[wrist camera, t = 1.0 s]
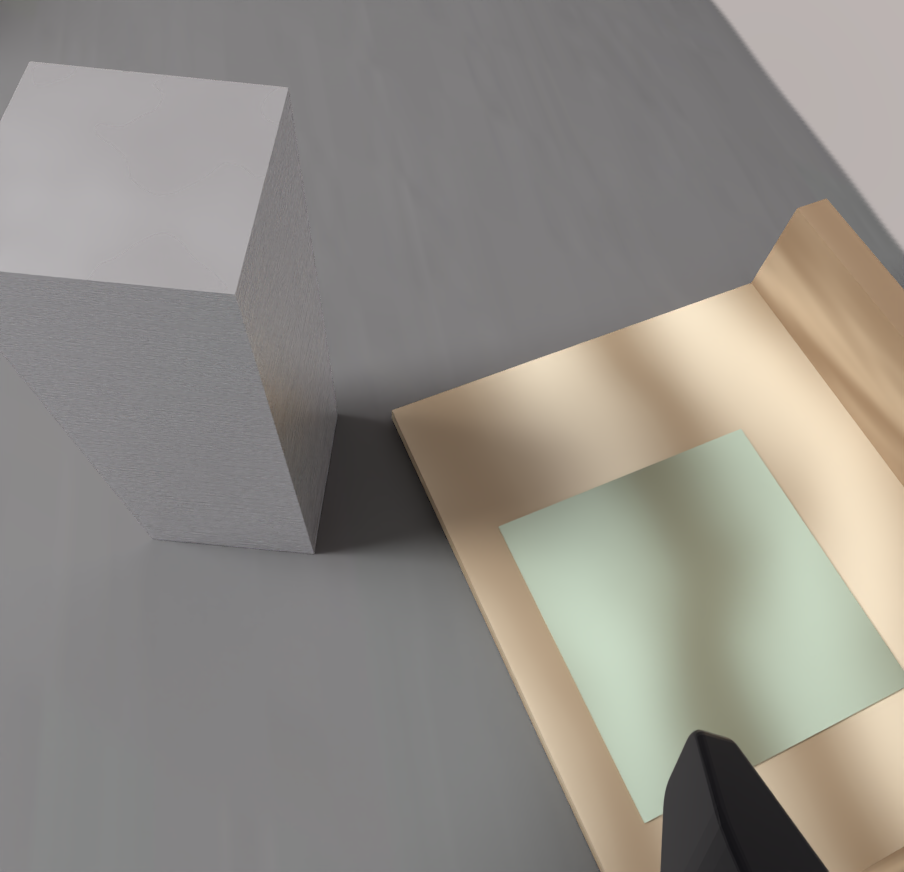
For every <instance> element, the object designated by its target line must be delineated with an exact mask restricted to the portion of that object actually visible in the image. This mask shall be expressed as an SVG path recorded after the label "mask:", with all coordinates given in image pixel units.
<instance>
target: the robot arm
mask: <svg viewBox="0 0 904 872" xmlns="http://www.w3.org/2000/svg"><path fill="white" fill-rule="evenodd" d="M660 872H829V870H828V869H827V868H826V866H825V865H824V863H823V862H822V861H821V859H820V858H819V857H818V855H817V854H816V852H815V851H814V850H813V848H812V847H811V845H810V844H809V843H808V841H807V840H806V839H805V837H804V836H803V834H802V833H801V832H800V830H799V829H798V828H797V826H796V825H795V823H794V822H793V821H792V819H791V818H790V816H789V815H788V814H787V812H786V811H785V810H784V808H783V807H782V805H781V804H780V803H779V801H778V800H777V799H776V797H775V796H774V794H773V793H772V792H771V790H770V789H769V787H768V786H767V785H766V783H765V782H764V781H763V779H762V778H761V776H760V775H759V774H758V772H757V771H756V770H755V768H754V767H753V765H752V764H751V763H750V761H749V760H748V758H747V757H746V756H745V754H744V753H743V752H742V750H741V749H740V747H739V746H738V745H737V744H736V743H735V742H734V741H733V740H732V739H730V738H728V737H725V736H722V735H718V734H715V733H711V732H708V731H704V730H700V729H698V730H695V731H693V732H692V733H691V734H690V735H689V736H688V738H687V740H686V743H685V745H684V747H683V749H682V751H681V754H680V756H679V758H678V760H677V762H676V765H675V767H674V769H673V771H672V773H671V776H670V778H669V780H668V783H667V786H666V790H665V795H664V803H663V823H662V845H661V868H660Z"/></svg>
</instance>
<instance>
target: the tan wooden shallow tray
mask: <svg viewBox="0 0 904 872" xmlns="http://www.w3.org/2000/svg"><path fill="white" fill-rule="evenodd" d="M392 420H393V422H394V424H395V426H396V428H397V431H398V433H399V435H400V437H401V439H402V441H403V444H404V446H405V448H406V450H407V452H408V454H409V457H410V459H411V461H412V463H413V465H414V468H415V470H416V472H417V474H418V476H419V478H420V481H421V483H422V485H423V487H424V489H425V491H426V494H427V496H428V498H429V500H430V502H431V504H432V507H433V509H434V511H435V513H436V515H437V517H438V520H439V522H440V524H441V526H442V528H443V531H444V533H445V535H446V537H447V539H448V541H449V544H450V546H451V548H452V550H453V552H454V554H455V557H456V559H457V561H458V563H459V565H460V567H461V570H462V572H463V574H464V576H465V578H466V580H467V583H468V585H469V587H470V589H471V591H472V594H473V596H474V598H475V600H476V602H477V604H478V607H479V609H480V611H481V613H482V615H483V617H484V620H485V622H486V624H487V626H488V628H489V630H490V633H491V635H492V637H493V639H494V641H495V643H496V646H497V648H498V650H499V652H500V654H501V657H502V659H503V661H504V663H505V665H506V667H507V670H508V672H509V674H510V676H511V678H512V680H513V683H514V685H515V687H516V689H517V691H518V693H519V696H520V698H521V700H522V702H523V704H524V706H525V709H526V711H527V713H528V715H529V717H530V720H531V722H532V724H533V726H534V728H535V730H536V733H537V735H538V737H539V739H540V741H541V743H542V746H543V748H544V750H545V752H546V754H547V756H548V759H549V761H550V763H551V765H552V767H553V770H554V772H555V774H556V776H557V778H558V780H559V783H560V785H561V787H562V789H563V791H564V793H565V796H566V798H567V800H568V802H569V804H570V806H571V809H572V811H573V813H574V815H575V817H576V819H577V822H578V824H579V826H580V828H581V830H582V833H583V835H584V837H585V839H586V841H587V843H588V846H589V848H590V850H591V852H592V854H593V856H594V859H595V861H596V863H597V865H598V867H599V869H600V872H660V868H661V845H662V823H663V803H664V795H665V790H666V786H667V783H668V780H669V778H670V776H671V773H672V771H673V769H674V767H675V765H676V762H677V760H678V758H679V756H680V754H681V751H682V749H683V747H684V745H685V743H686V740H687V738H688V736H689V735H690V734H691V733H692V732H693V731H695V730H698V729H700V730H704V731H708V732H711V733H715V734H718V735H722V736H725V737H728V738H730V739H732V740H733V741H734V742H735V743H736V744H737V745H738V746H739V747H740V749H741V750H742V752H743V753H744V754H745V756H746V757H747V758H748V760H749V761H750V763H751V764H752V765H753V767H754V768H755V770H756V771H757V772H758V774H759V775H760V776H761V778H762V779H763V781H764V782H765V783H766V785H767V786H768V787H769V789H770V790H771V792H772V793H773V794H774V796H775V797H776V799H777V800H778V801H779V803H780V804H781V805H782V807H783V808H784V810H785V811H786V812H787V814H788V815H789V816H790V818H791V819H792V821H793V822H794V823H795V825H796V826H797V828H798V829H799V830H800V832H801V833H802V834H803V836H804V837H805V839H806V840H807V841H808V843H809V844H810V845H811V847H812V848H813V850H814V851H815V852H816V854H817V855H818V857H819V858H820V859H821V861H822V862H823V863H824V865H825V866H826V868H827V869H828V870H829V872H904V289H903V288H902V287H901V286H900V285H899V284H898V282H897V281H896V280H895V279H894V278H893V276H892V275H891V274H890V273H889V272H888V271H887V269H886V268H885V267H884V266H883V265H882V263H881V262H880V261H879V260H878V259H877V258H876V256H875V255H874V254H873V253H872V252H871V250H870V249H869V248H868V247H867V246H866V245H865V243H864V242H863V241H862V240H861V239H860V237H859V236H858V235H857V234H856V233H855V232H854V230H853V229H852V228H851V227H850V226H849V224H848V223H847V222H846V221H845V220H844V219H843V217H842V216H841V215H840V214H839V213H838V211H837V210H836V209H835V208H834V207H833V206H832V204H831V203H830V202H829V201H828V200H827V199H824V200H821V201H818V202H815V203H812V204H809V205H806V206H803V207H800V208H797V210H796V211H795V213H794V214H793V216H792V218H791V219H790V221H789V223H788V224H787V226H786V227H785V229H784V231H783V232H782V234H781V236H780V237H779V239H778V241H777V242H776V244H775V245H774V247H773V249H772V250H771V252H770V254H769V255H768V257H767V258H766V260H765V262H764V263H763V265H762V267H761V268H760V270H759V272H758V273H757V275H756V276H755V278H754V280H753V281H752V283H750V284H747V285H744V286H742V287H739V288H736V289H733V290H730V291H728V292H725V293H722V294H719V295H716V296H713V297H711V298H708V299H705V300H702V301H699V302H696V303H694V304H691V305H688V306H685V307H682V308H680V309H677V310H674V311H671V312H668V313H665V314H663V315H660V316H657V317H654V318H651V319H648V320H646V321H643V322H640V323H637V324H634V325H632V326H629V327H626V328H623V329H620V330H617V331H615V332H612V333H609V334H606V335H603V336H600V337H598V338H595V339H592V340H589V341H586V342H584V343H581V344H578V345H575V346H572V347H569V348H567V349H564V350H561V351H558V352H555V353H552V354H550V355H547V356H544V357H541V358H538V359H536V360H533V361H530V362H527V363H524V364H521V365H519V366H516V367H513V368H510V369H507V370H504V371H502V372H499V373H496V374H493V375H490V376H487V377H485V378H482V379H479V380H476V381H473V382H471V383H468V384H465V385H462V386H459V387H456V388H454V389H451V390H448V391H445V392H442V393H439V394H437V395H434V396H431V397H428V398H425V399H423V400H420V401H417V402H414V403H411V404H408V405H406V406H403V407H400V408H397V409H394V410H392Z"/></svg>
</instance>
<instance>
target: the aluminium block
mask: <svg viewBox="0 0 904 872" xmlns="http://www.w3.org/2000/svg"><path fill="white" fill-rule="evenodd" d="M0 351H1V353H2V354H3V355H4V356H5V358H6V359H7V360H8V361H9V363H10V364H11V365H12V366H13V367H14V369H15V370H16V371H17V372H18V374H19V375H20V376H21V377H22V379H23V380H24V381H25V382H26V384H27V385H28V386H29V387H30V388H31V390H32V391H33V392H34V393H35V395H36V396H37V397H38V398H39V400H40V401H41V402H42V403H43V405H44V406H45V407H46V408H47V409H48V411H49V412H50V413H51V414H52V416H53V417H54V418H55V419H56V421H57V422H58V423H59V424H60V425H61V427H62V428H63V429H64V430H65V432H66V433H67V434H68V435H69V437H70V438H71V439H72V440H73V442H74V443H75V444H76V445H77V446H78V448H79V449H80V450H81V451H82V453H83V454H84V455H85V456H86V458H87V459H88V460H89V461H90V463H91V464H92V465H93V466H94V467H95V469H96V470H97V471H98V472H99V474H100V475H101V476H102V477H103V479H104V480H105V481H106V482H107V484H108V485H109V486H110V487H111V488H112V490H113V491H114V492H115V493H116V495H117V496H118V497H119V498H120V500H121V501H122V502H123V503H124V504H125V506H126V507H127V508H128V509H129V511H130V512H131V513H132V514H133V516H134V517H135V518H136V519H137V521H138V522H139V523H140V524H141V525H142V527H143V528H144V529H145V530H146V532H147V533H148V534H149V535H150V537H151V538H152V539H158V540H169V541H179V542H190V543H200V544H211V545H221V546H232V547H243V548H253V549H264V550H274V551H285V552H295V553H306V554H314V552H315V546H316V540H317V534H318V528H319V522H320V517H321V511H322V505H323V499H324V493H325V487H326V481H327V475H328V469H329V463H330V457H331V451H332V445H333V439H334V434H335V428H336V422H337V416H338V411H337V404H336V398H335V391H334V385H333V378H332V371H331V365H330V358H329V352H328V345H327V338H326V332H325V325H324V319H323V312H322V305H321V299H320V292H319V286H318V279H317V272H316V266H315V259H314V253H313V246H312V239H311V233H310V226H309V220H308V213H307V206H306V200H305V193H304V187H303V180H302V173H301V167H300V160H299V154H298V147H297V140H296V134H295V127H294V121H293V114H292V107H291V101H290V94H289V88H288V87H279V86H269V85H259V84H249V83H239V82H229V81H219V80H209V79H199V78H189V77H179V76H169V75H159V74H150V73H140V72H130V71H120V70H110V69H100V68H90V67H80V66H70V65H60V64H50V63H40V62H29V64H28V66H27V68H26V70H25V72H24V74H23V76H22V78H21V80H20V82H19V84H18V86H17V88H16V90H15V92H14V94H13V97H12V99H11V101H10V103H9V105H8V107H7V109H6V111H5V113H4V115H3V117H2V119H1V121H0Z"/></svg>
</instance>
